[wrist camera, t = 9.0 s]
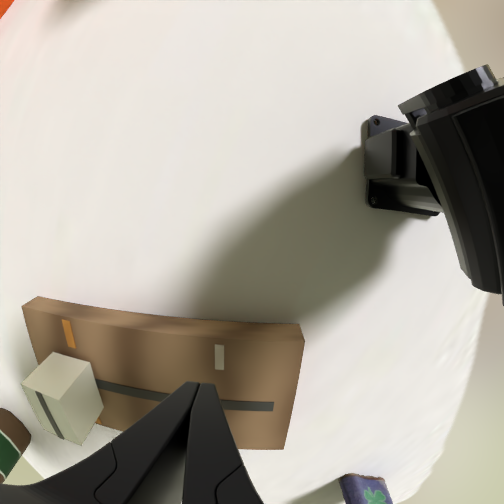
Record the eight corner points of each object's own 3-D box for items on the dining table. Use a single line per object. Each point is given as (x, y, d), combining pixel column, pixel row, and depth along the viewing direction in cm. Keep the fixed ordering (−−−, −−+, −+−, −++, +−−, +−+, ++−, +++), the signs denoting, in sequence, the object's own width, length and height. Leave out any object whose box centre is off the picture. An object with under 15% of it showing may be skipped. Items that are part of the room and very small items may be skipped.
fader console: (299, 324, 20) (305, 342, 17) (281, 430, 22) (283, 450, 20) (37, 296, 19) (20, 306, 17) (67, 396, 22) (56, 409, 19)
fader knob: (89, 362, 17) (58, 401, 12) (104, 407, 18) (81, 446, 13) (53, 351, 17) (19, 384, 12) (68, 396, 18) (43, 429, 13)
